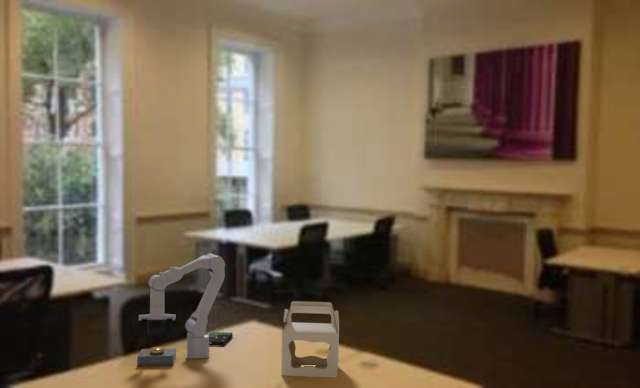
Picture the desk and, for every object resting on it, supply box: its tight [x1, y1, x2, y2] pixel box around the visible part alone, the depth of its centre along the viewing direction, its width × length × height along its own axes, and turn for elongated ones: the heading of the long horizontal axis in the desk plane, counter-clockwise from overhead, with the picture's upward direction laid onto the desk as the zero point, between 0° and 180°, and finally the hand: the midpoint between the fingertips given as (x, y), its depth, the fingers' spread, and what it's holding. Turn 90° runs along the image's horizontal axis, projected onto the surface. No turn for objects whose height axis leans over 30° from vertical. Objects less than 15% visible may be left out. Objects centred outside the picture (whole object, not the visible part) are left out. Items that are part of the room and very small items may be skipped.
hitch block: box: [136, 348, 177, 367], centre depth 244 cm, size 14×10×4 cm
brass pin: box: [149, 346, 165, 355], centre depth 244 cm, size 6×6×5 cm
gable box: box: [281, 300, 340, 379], centre depth 236 cm, size 22×13×28 cm, turn 86°
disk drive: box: [208, 331, 234, 347], centre depth 276 cm, size 10×3×15 cm
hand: (157, 337), depth 244 cm, fingers open, 7 cm apart
